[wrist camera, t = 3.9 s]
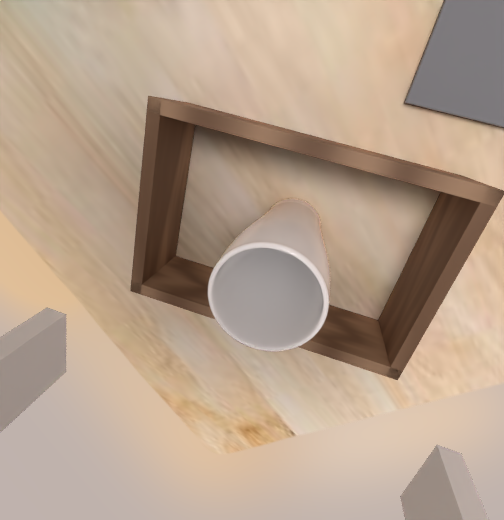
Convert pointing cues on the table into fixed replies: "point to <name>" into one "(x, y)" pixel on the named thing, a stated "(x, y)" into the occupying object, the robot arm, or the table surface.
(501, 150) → the table surface
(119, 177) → the table surface
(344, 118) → the table surface
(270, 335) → the drinking glass
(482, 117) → the charcoal mat
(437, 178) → the walnut open box frame
